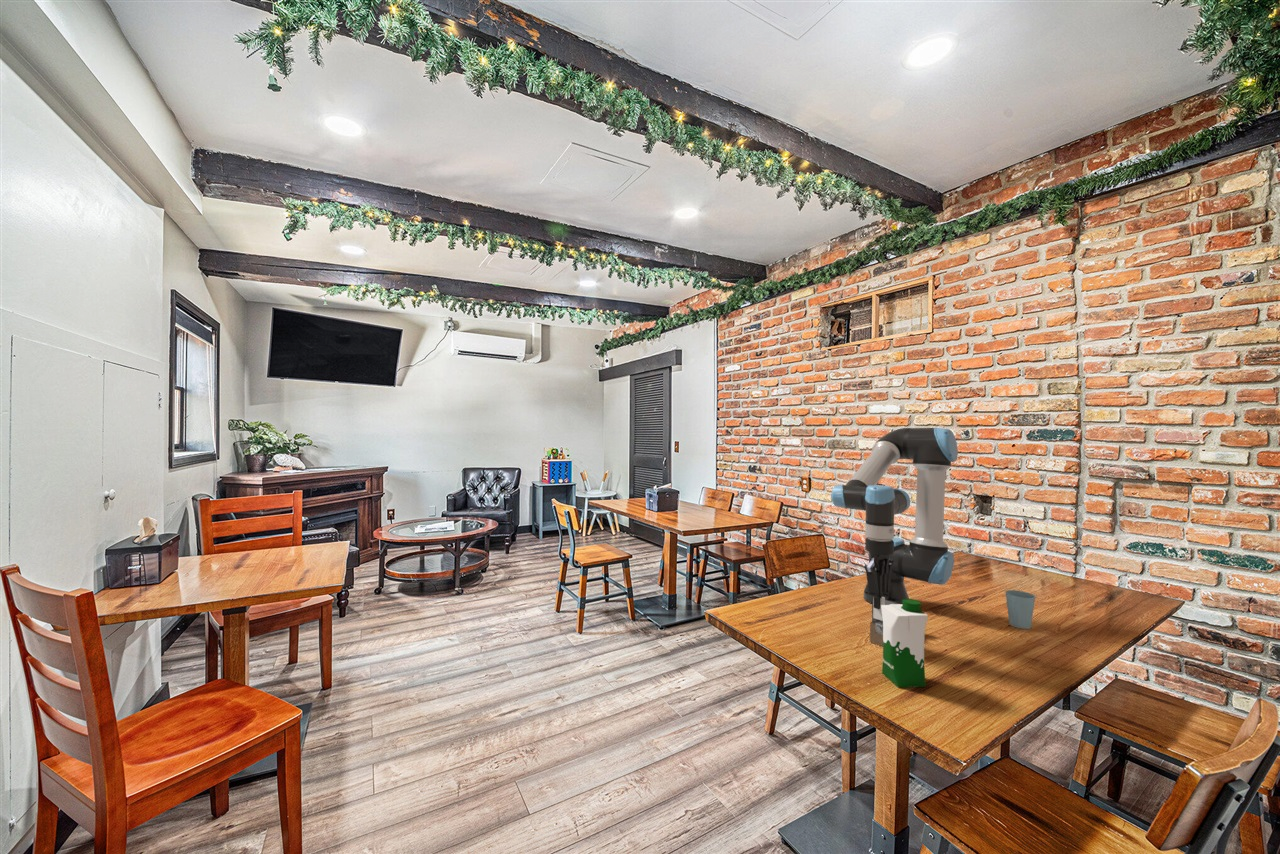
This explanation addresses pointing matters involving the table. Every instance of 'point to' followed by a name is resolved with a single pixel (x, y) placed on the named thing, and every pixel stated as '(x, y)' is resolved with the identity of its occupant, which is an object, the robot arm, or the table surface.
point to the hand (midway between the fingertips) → (879, 618)
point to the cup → (1020, 608)
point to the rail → (876, 632)
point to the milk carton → (904, 643)
